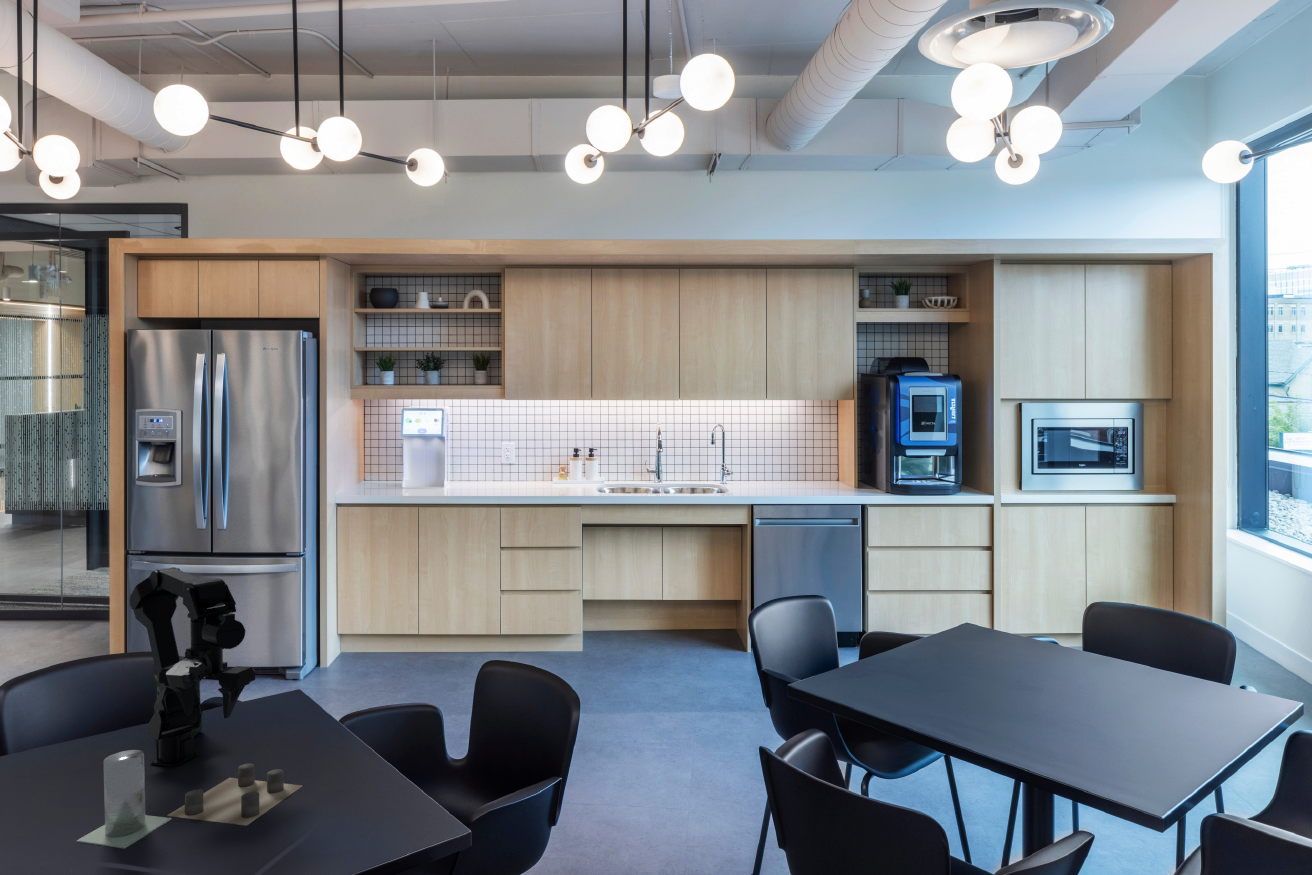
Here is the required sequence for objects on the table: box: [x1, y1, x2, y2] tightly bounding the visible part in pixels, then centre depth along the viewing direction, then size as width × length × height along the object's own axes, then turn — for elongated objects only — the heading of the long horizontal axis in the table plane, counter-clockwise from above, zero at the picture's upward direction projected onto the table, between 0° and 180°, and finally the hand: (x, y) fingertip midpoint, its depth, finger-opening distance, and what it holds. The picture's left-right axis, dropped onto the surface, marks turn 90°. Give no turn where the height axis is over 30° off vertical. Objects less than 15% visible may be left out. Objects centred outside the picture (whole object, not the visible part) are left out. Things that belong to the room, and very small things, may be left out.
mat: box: [166, 762, 303, 826], centre depth 152 cm, size 17×16×4 cm
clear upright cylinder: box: [103, 749, 146, 838], centre depth 140 cm, size 6×6×13 cm
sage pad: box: [76, 814, 172, 849], centre depth 140 cm, size 10×10×1 cm
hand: (207, 716), depth 162 cm, fingers open, 9 cm apart
